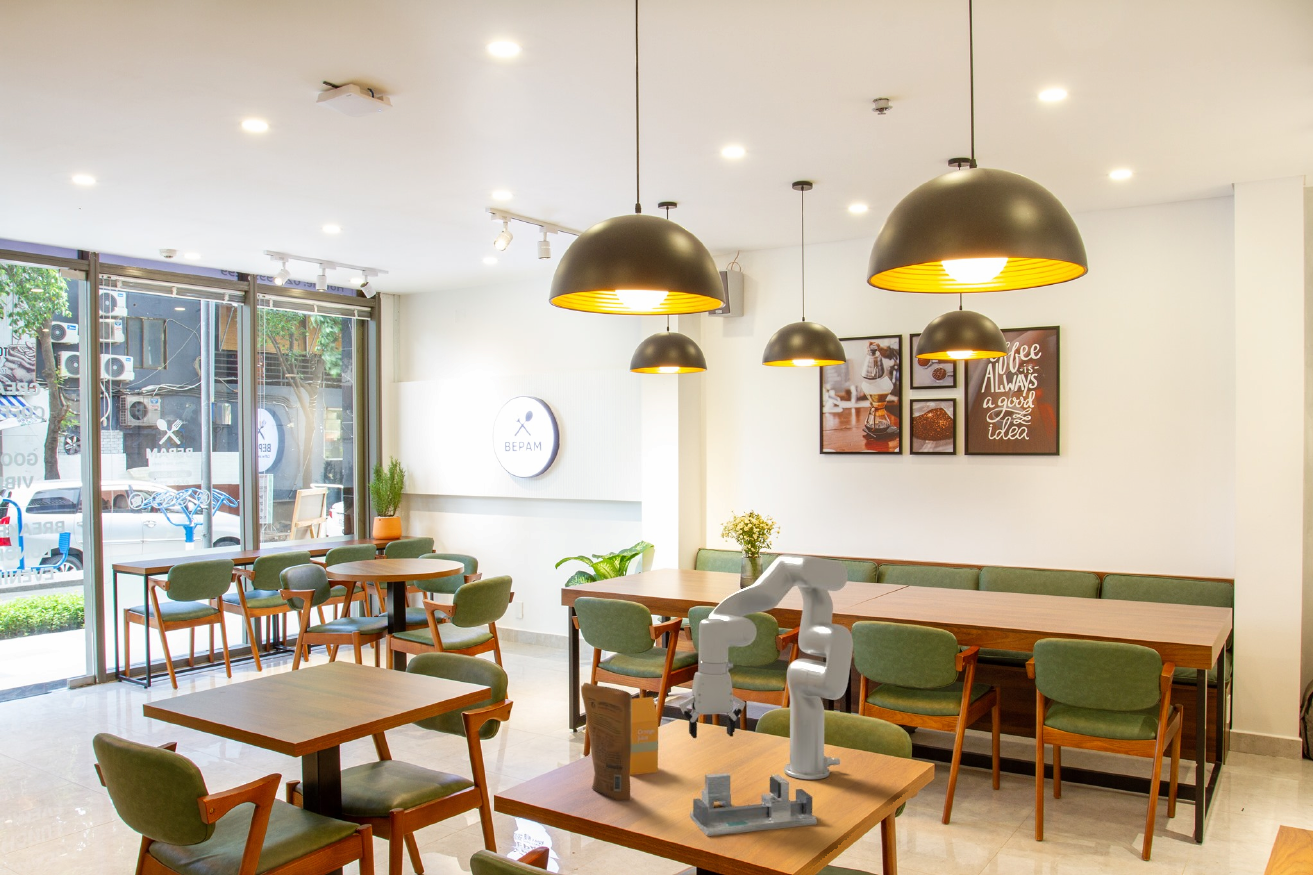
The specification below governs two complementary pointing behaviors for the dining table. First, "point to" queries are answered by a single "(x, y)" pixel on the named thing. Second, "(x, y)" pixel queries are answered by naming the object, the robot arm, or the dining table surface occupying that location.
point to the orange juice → (644, 736)
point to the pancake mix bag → (609, 738)
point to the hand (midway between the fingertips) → (711, 735)
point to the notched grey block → (717, 790)
